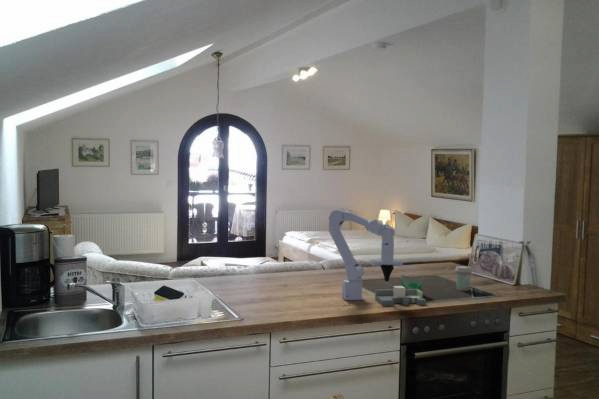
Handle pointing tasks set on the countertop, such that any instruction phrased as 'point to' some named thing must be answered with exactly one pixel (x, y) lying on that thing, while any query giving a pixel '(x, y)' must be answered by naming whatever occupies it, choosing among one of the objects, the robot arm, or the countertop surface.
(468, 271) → the coffee cup
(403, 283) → the food container
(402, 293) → the cream block
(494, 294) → the countertop surface
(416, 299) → the trap board
